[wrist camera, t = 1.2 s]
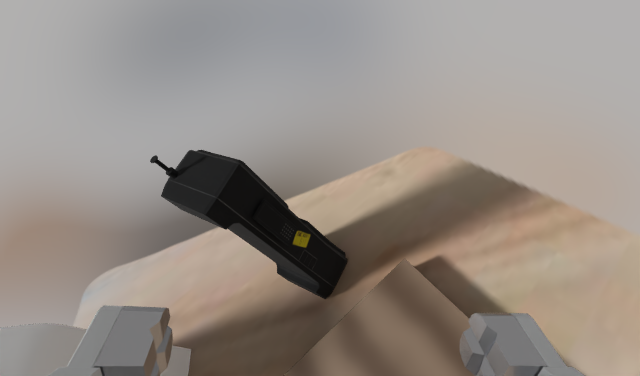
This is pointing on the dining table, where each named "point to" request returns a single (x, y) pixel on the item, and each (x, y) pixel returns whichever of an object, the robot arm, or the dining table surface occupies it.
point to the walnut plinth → (393, 333)
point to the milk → (57, 350)
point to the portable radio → (254, 217)
